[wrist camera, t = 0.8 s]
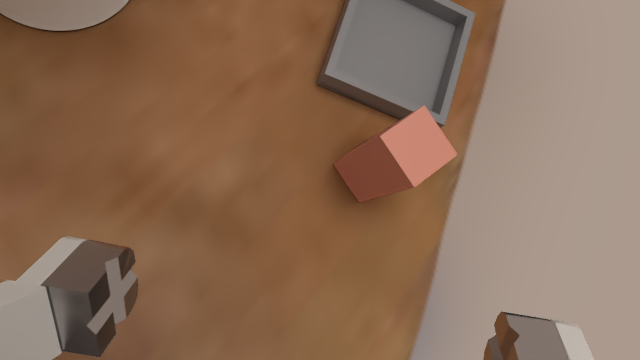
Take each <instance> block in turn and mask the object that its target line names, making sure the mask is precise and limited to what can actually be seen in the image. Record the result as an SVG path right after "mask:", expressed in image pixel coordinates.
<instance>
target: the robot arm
mask: <svg viewBox="0 0 640 360" xmlns="http://www.w3.org/2000/svg"><path fill="white" fill-rule="evenodd" d="M128 1H129V0H0V13H1V14H3V15H4V16H6V17H8V18H10V19H12V20H14V21H16V22H19V23H21V24H24V25H27V26H30V27H34V28H39V29H44V30H54V31H67V30H77V29H82V28H86V27H90V26H93V25H96V24H98V23H100V22H103V21H105V20H107V19H108V18H110V17H112V16H113V15H114V14H116V13H117V12H118V11H119V10H121V9H122V8H123V7H124V6H125V5H126V4H127V2H128ZM135 262H136V261H135V255H134V250H132V249H131V248H129V247H125V246H119V245H114V244H109V243H104V242H99V241H94V240H86V239H82V238H77V237H72V236H66V237H63V238H61V239H59V240H58V241H57V242H56V243H55V244H54V245H53V246H52V247H51V248H50V249H49V250H48V251H47V252H46V253H45V254H44V255H43V256H41V257H40V258H39V259H38V260H37V261H36V262H35V263H34V264H33V265H32V266H31V267H30V268H29V269H28V270H27V271H26V272H25V273H23V274H22V275H21V276H20V277H19V278H18V279H17V280H16V281H11V280H7V281H5V282H2V283H0V360H52V359H54V358H55V357H57V356H58V355H60V354H61V353H62V352H61V351H65V352H71V353H77V354H83V355H89V356H96V357H101V355H102V354H103V352H104V351H105V349H106V348H107V346H108V345H109V343H110V342H111V340H112V339H113V338H114V336H115V335H116V329H115V324H117V323H119V322H121V321H122V320H124V319H126V318H127V317H128V315H129V314H130V312H131V311H132V309H133V307H134V304H135V301H136V298H137V294H138V278H137V276H136V275H135V274H134V273H133V272H132V270H131V268H132V266H133V265H134V264H135ZM494 326H495V331H496V335H495V336H494V337H492V338H491V339H489V340H488V343H487V346H486V348H485V352H484V360H594V358H593V356H592V354H591V352H590V349H589V347H588V345H587V343H586V340H585V338H584V336H583V334H582V332H581V330H580V327H579V326H578V325H577V324H576V323H572V322H565V321H559V320H552V319H550V320H548V319H543V318H537V317H531V316H525V315H519V314H513V313H507V312H501V313H500V314H499V315H498V317H497V319H496V322H495V324H494Z"/></svg>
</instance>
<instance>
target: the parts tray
mask: <svg viewBox="0 0 640 360" xmlns="http://www.w3.org/2000/svg"><path fill="white" fill-rule="evenodd" d="M474 17H475V13H474V12H472V11H470V10H468V9H466V8H464V7H462V6H460V5H458V4H456V3H454V2H451V1H449V0H345V3H344V6H343V9H342V12H341V15H340V18H339V20H338V23H337V26H336V29H335V32H334V35H333V38H332V41H331V44H330V46H329V49H328V52H327V55H326V58H325V61H324V64H323V67H322V70H321V72H320V75H319V78H318V81H317V85H320V86H322V87H324V88H327V89H329V90H331V91H334V92H336V93H339V94H341V95H343V96H346V97H348V98H350V99H353V100H355V101H357V102H360V103H362V104H364V105H367V106H369V107H372V108H374V109H376V110H379V111H381V112H383V113H386V114H388V115H390V116H393V117H395V118H397V119H400V120H401V119H403V118H404V117H406V116H408V115H409V114H411V113H412V112H414V111H416V110H417V109H419V108H421V107H422V106H424V105H425V107H426V108H427V110H428V111H429V113H430V114H431V116H432V117H433V119H434V120H435V122H436V123H437V125H438V126H439V128H440V127H442V126H444V125H445V123H446V119H447V116H448V112H449V108H450V105H451V101H452V97H453V94H454V90H455V86H456V83H457V79H458V75H459V72H460V68H461V64H462V61H463V57H464V54H465V50H466V46H467V43H468V39H469V35H470V32H471V28H472V24H473V21H474Z"/></svg>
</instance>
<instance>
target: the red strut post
mask: <svg viewBox="0 0 640 360" xmlns="http://www.w3.org/2000/svg"><path fill="white" fill-rule="evenodd" d="M456 155H457V153H456V152H455V150H454V149H453V147H452V146H451V144H450V143H449V141H448V140H447V138H446V137H445V135H444V134H443V132H442V131H441V129H440V128H439V126H438V125H437V123H436V122H435V120H434V119H433V117H432V116H431V114H430V113H429V111H428V110H427V108H426V107H425V105H424V106H422V107H421V108H419V109H417V110H416V111H414V112H412V113H411V114H409V115H408V116H406V117H404V118H403V119H401V120H399V121H398V122H396V123H394V124H393V125H391V126H389V127H388V128H386V129H384V130H383V131H381V132H380V133H378V134H376V135H375V136H373V137H371V138H370V139H368V140H367V141H365V142H364V143H362V144H361V145H359V146H358V147H356V148H355V149H354V150H352V151H351V152H349V153H348V154H346V155H345V156H343V157H342V158H341V159H339V160H338V161H336V162H335V163H333V165H334V166H335V168H336V169H337V171H338V172H339V174H340V175H341V177H342V178H343V180H344V181H345V183H346V184H347V186H348V187H349V189H350V190H351V192H352V193H353V194H354V196H355V197H356V199H357V200H358V202H359V203H360V202H363V201H367V200H370V199H374V198H378V197H381V196H385V195H389V194H392V193H396V192H400V191H403V190H407V189H410V188H414V187H416V186H417V185H418V184H420V183H421V182H422V181H424V180H425V179H426V178H427V177H429V176H430V175H431V174H433V173H434V172H435V171H437V170H438V169H439V168H441V167H442V166H443V165H445V164H446V163H447V162H449V161H450V160H451V159H453V158H454V157H455V156H456Z"/></svg>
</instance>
